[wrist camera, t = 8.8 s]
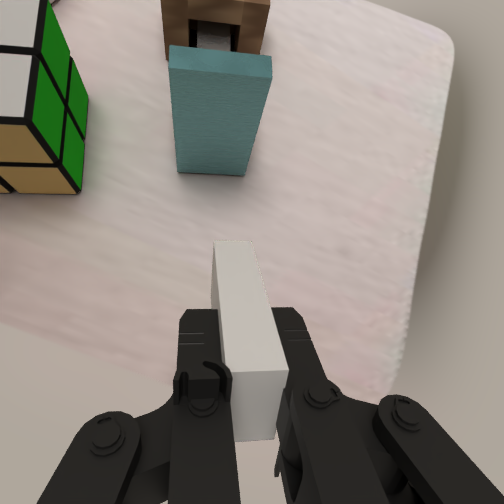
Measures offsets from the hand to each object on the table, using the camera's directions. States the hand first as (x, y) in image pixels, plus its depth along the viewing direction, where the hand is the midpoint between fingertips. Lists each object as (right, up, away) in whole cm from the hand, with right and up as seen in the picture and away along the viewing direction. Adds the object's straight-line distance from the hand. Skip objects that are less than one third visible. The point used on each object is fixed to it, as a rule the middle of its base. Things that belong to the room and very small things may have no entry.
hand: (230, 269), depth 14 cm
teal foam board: (-3, +16, +20) cm, 25 cm away
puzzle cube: (-19, +10, +16) cm, 27 cm away
